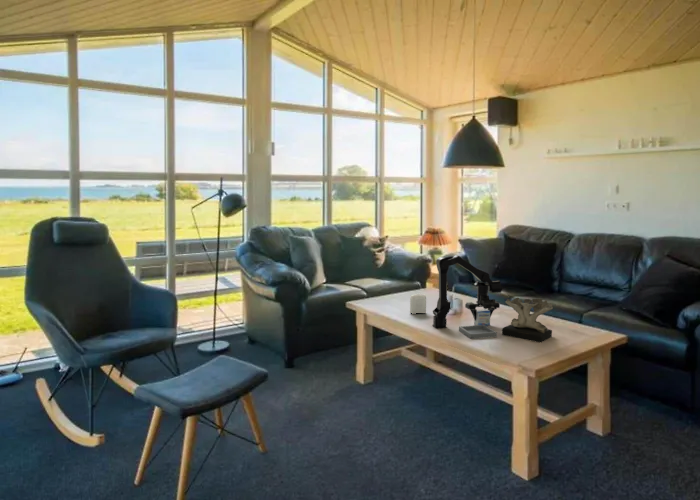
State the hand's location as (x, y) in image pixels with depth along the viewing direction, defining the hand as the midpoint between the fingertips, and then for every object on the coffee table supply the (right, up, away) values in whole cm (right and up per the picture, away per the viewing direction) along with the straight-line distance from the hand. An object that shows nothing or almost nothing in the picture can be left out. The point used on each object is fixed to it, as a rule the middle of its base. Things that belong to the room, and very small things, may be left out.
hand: (482, 319), depth 294 cm
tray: (-7, -5, -17) cm, 19 cm away
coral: (+17, -6, -25) cm, 31 cm away
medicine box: (0, -3, 0) cm, 3 cm away
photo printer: (-33, 0, +28) cm, 44 cm away
